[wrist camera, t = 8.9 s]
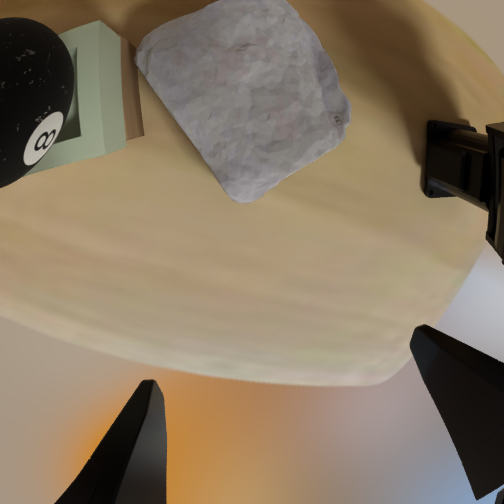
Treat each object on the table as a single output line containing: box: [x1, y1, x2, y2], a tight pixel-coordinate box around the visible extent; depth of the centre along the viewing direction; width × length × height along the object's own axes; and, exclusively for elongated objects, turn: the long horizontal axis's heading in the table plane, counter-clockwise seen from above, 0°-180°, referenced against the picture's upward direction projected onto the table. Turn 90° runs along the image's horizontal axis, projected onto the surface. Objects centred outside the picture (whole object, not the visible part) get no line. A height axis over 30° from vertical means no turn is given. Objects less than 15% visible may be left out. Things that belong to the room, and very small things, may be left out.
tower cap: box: [22, 20, 127, 177], centre depth 10 cm, size 6×6×3 cm
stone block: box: [134, 0, 351, 203], centre depth 15 cm, size 12×5×10 cm
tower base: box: [116, 33, 144, 140], centre depth 13 cm, size 6×6×4 cm
